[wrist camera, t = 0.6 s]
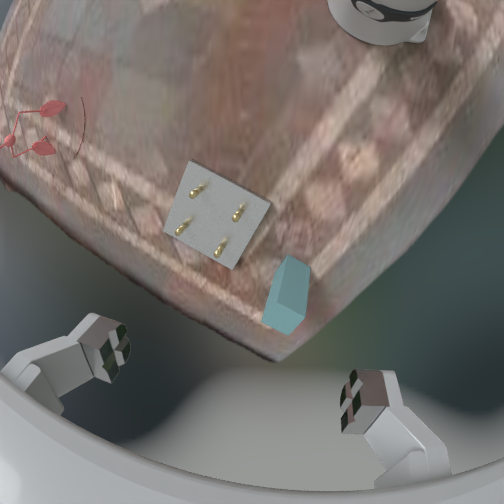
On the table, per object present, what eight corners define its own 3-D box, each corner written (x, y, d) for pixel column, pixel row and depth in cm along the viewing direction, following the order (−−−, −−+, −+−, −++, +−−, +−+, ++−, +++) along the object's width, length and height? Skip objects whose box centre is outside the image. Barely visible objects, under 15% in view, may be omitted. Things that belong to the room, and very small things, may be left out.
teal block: (288, 254, 52) (276, 302, 41) (310, 267, 53) (305, 317, 41) (275, 272, 55) (261, 321, 43) (296, 284, 55) (288, 335, 44)
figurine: (38, 163, 55) (-66, 223, 25) (61, 71, 41) (-72, 102, 12) (72, 190, 57) (-39, 266, 27) (102, 91, 43) (-54, 130, 14)
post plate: (192, 159, 47) (180, 165, 43) (271, 201, 48) (267, 211, 44) (165, 228, 56) (154, 238, 52) (234, 266, 57) (227, 280, 53)
